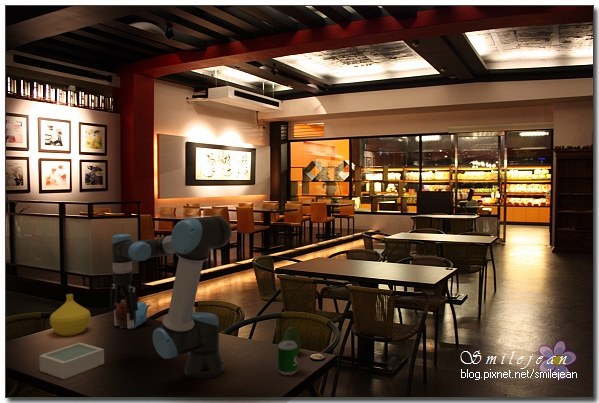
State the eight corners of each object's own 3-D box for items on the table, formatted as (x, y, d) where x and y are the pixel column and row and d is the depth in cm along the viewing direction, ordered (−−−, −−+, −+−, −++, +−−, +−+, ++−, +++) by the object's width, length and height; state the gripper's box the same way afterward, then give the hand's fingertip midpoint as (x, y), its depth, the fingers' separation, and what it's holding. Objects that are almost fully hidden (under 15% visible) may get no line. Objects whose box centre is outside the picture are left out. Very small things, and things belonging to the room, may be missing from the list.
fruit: (285, 350, 220) (284, 324, 219) (302, 352, 218) (302, 325, 218) (280, 357, 212) (280, 329, 212) (299, 358, 211) (298, 330, 210)
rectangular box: (104, 363, 207) (103, 349, 206) (63, 379, 191) (63, 363, 191) (80, 356, 215) (79, 342, 215) (39, 370, 200) (39, 355, 199)
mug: (123, 322, 215) (122, 298, 214) (142, 323, 213) (141, 299, 213) (107, 330, 203) (106, 305, 203) (126, 331, 201) (126, 306, 201)
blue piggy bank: (111, 329, 251) (111, 304, 251) (127, 320, 267) (126, 296, 266) (145, 331, 248) (144, 305, 248) (159, 322, 264) (158, 298, 263)
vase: (58, 327, 255) (57, 290, 254) (95, 326, 257) (94, 289, 256) (44, 339, 237) (42, 300, 236) (84, 338, 239) (83, 298, 238)
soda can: (290, 377, 191) (290, 347, 190) (274, 373, 195) (274, 343, 194) (301, 371, 197) (300, 341, 197) (285, 367, 201) (285, 338, 201)
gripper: (146, 272, 205) (148, 327, 206) (114, 268, 216) (115, 320, 217) (131, 275, 199) (133, 332, 200) (99, 270, 209) (100, 324, 211)
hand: (124, 326), depth 208 cm, fingers closed on mug, 7 cm apart
